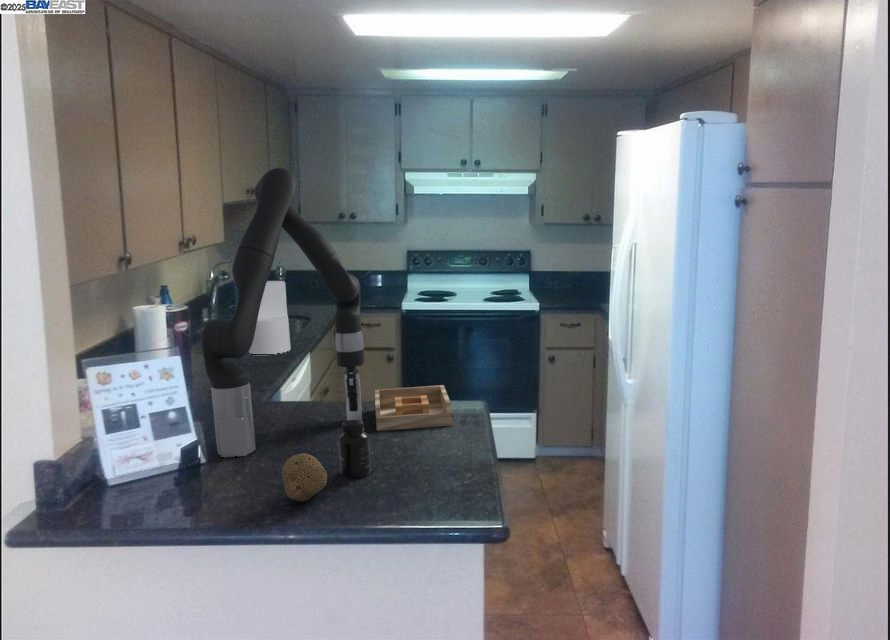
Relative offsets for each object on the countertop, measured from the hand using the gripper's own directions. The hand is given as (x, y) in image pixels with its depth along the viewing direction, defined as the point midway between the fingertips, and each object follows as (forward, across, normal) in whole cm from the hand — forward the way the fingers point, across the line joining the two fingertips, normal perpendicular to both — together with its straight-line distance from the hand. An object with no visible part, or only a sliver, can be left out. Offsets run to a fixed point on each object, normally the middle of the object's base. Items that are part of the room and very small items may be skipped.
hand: (353, 408), depth 208 cm
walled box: (+4, 0, -16) cm, 16 cm away
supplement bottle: (+4, -40, -1) cm, 40 cm away
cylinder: (+4, +108, +37) cm, 114 cm away
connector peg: (+4, 0, 0) cm, 4 cm away
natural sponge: (+4, -53, +9) cm, 54 cm away
